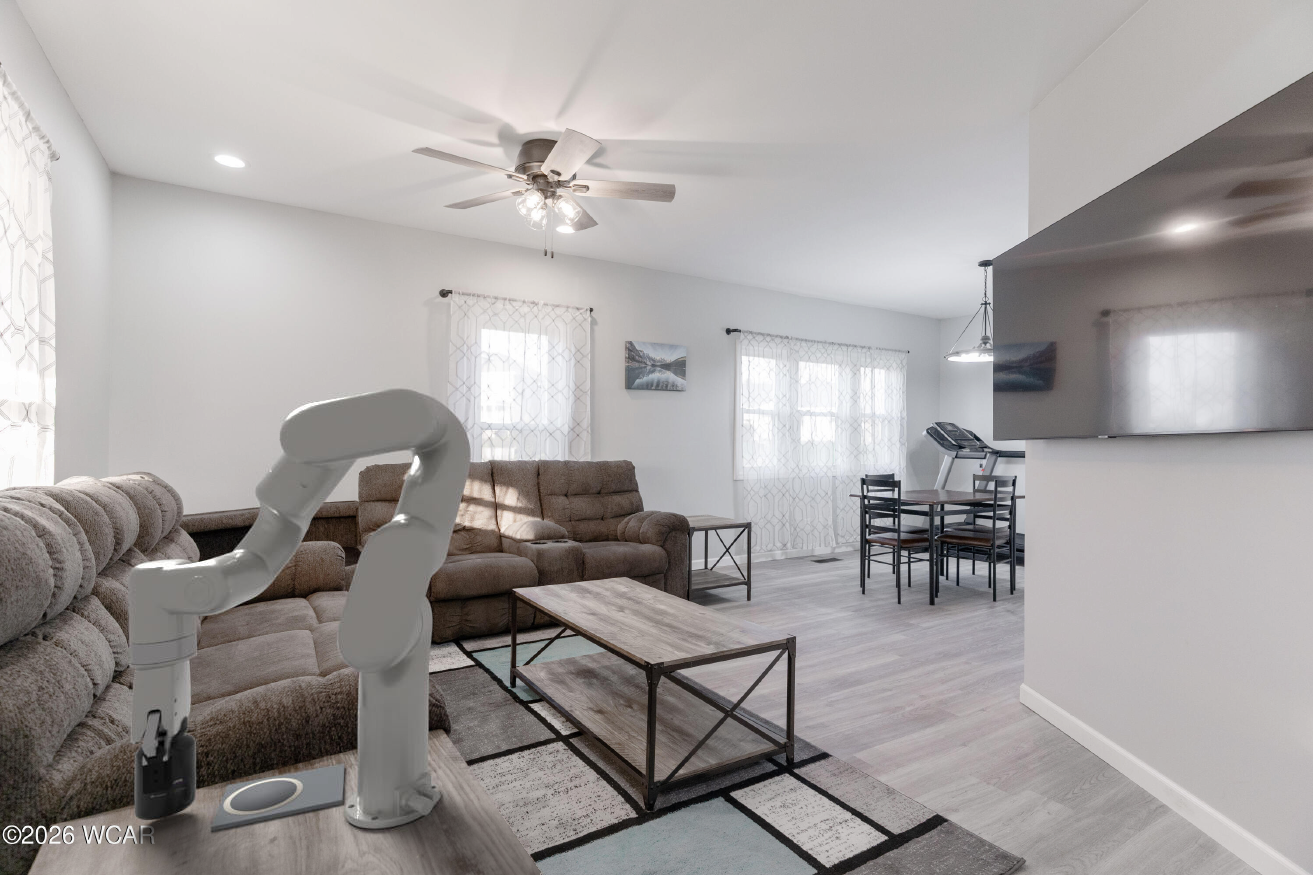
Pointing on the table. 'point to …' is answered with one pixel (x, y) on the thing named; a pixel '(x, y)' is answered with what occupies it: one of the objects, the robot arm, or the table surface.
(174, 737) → the supplement bottle
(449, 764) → the table surface
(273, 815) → the mat
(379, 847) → the table surface
